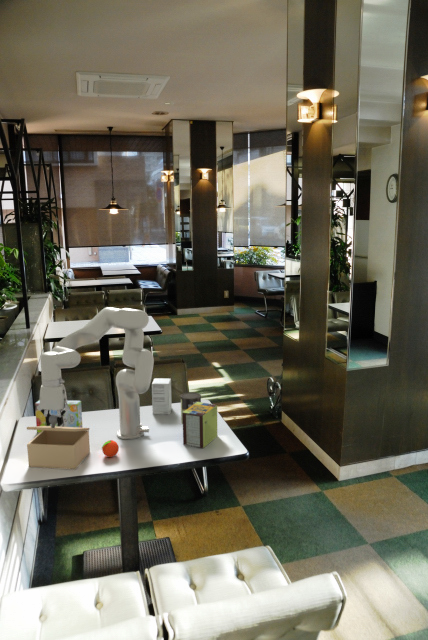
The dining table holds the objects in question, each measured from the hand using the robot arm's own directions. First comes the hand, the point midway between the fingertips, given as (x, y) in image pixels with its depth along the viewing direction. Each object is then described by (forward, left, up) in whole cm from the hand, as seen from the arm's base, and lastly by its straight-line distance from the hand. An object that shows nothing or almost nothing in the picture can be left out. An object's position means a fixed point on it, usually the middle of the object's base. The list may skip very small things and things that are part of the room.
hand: (54, 424), depth 209 cm
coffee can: (-48, -50, -17) cm, 71 cm away
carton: (0, -3, -17) cm, 17 cm away
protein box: (-56, -29, -17) cm, 65 cm away
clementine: (-20, -8, -17) cm, 28 cm away
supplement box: (-30, -64, -17) cm, 73 cm away
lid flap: (0, -4, -4) cm, 5 cm away
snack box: (+13, -32, -17) cm, 39 cm away
